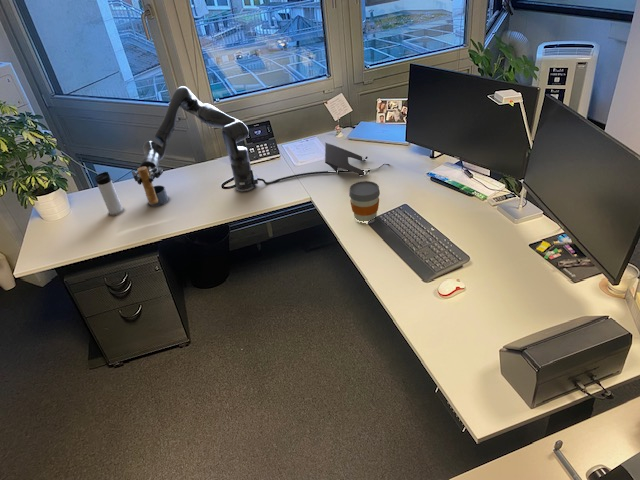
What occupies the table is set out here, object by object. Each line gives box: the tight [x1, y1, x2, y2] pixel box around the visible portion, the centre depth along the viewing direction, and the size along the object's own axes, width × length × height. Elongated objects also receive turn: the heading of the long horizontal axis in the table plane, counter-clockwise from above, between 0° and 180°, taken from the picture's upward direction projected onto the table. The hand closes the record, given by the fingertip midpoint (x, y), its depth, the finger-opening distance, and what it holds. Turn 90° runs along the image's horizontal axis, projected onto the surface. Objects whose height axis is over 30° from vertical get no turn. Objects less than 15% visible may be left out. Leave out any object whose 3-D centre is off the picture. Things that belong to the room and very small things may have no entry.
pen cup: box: [146, 185, 169, 207], centre depth 225 cm, size 9×9×6 cm
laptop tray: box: [324, 142, 371, 176], centre depth 234 cm, size 23×23×9 cm
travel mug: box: [94, 171, 124, 216], centre depth 216 cm, size 6×7×20 cm
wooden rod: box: [136, 166, 158, 205], centre depth 205 cm, size 4×4×17 cm
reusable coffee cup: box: [348, 180, 381, 226], centre depth 193 cm, size 13×13×15 cm
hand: (144, 181), depth 201 cm, fingers closed on wooden rod, 4 cm apart
